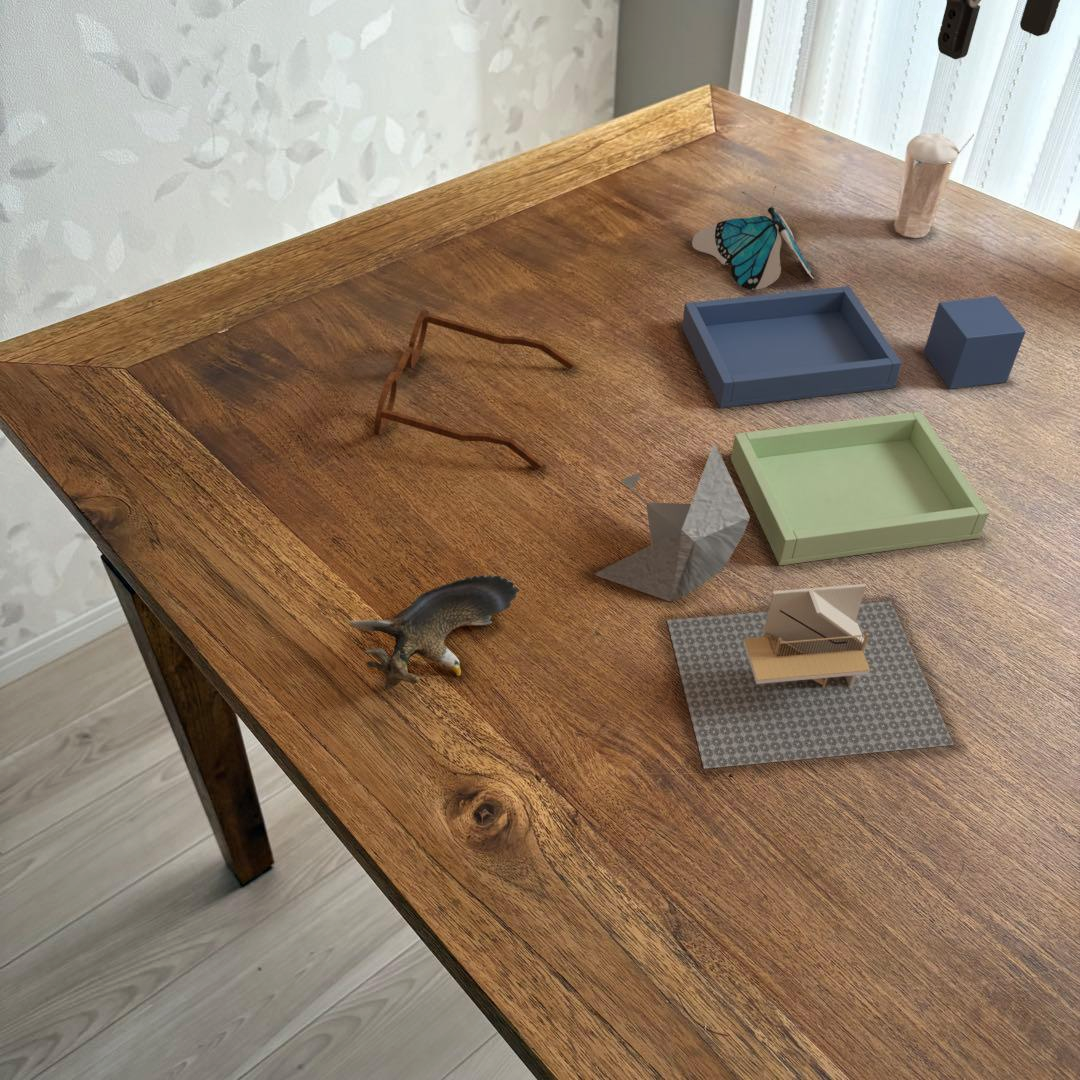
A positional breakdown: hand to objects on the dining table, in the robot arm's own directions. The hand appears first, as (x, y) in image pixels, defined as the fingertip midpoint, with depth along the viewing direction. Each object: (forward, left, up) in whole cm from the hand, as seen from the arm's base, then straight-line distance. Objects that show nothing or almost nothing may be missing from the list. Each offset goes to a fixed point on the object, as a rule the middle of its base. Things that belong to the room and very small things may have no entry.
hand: (993, 43), depth 82 cm
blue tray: (+15, +6, -22) cm, 27 cm away
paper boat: (+30, +26, -22) cm, 45 cm away
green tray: (+16, +23, -22) cm, 36 cm away
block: (+1, +10, -22) cm, 24 cm away
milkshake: (-4, -11, -22) cm, 25 cm away
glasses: (+41, +8, -22) cm, 47 cm away
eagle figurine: (+47, +32, -22) cm, 61 cm away
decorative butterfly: (+12, -8, -22) cm, 26 cm away
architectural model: (+25, +38, -22) cm, 51 cm away
